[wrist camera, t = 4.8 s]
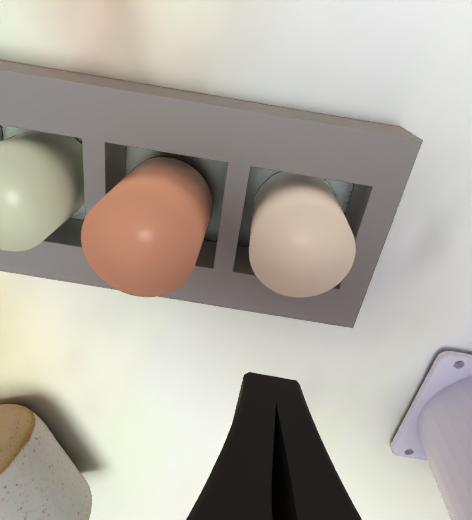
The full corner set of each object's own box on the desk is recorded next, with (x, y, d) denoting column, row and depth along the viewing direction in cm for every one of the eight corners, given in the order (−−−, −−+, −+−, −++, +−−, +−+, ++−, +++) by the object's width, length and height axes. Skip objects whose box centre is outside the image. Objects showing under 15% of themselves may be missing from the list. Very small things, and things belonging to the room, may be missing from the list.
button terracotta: (218, 165, 15) (202, 203, 11) (207, 249, 17) (191, 305, 13) (123, 150, 15) (78, 182, 11) (122, 235, 16) (83, 287, 13)
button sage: (95, 135, 16) (47, 160, 12) (97, 216, 18) (55, 258, 14) (7, 120, 16) (-66, 142, 12) (18, 203, 18) (-44, 242, 14)
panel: (401, 126, 15) (422, 140, 13) (343, 296, 19) (353, 328, 17) (-37, 53, 15) (-87, 55, 13) (-6, 239, 19) (-40, 264, 17)
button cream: (347, 177, 16) (369, 214, 13) (325, 253, 18) (339, 304, 14) (260, 162, 16) (258, 195, 13) (246, 240, 18) (241, 288, 14)
